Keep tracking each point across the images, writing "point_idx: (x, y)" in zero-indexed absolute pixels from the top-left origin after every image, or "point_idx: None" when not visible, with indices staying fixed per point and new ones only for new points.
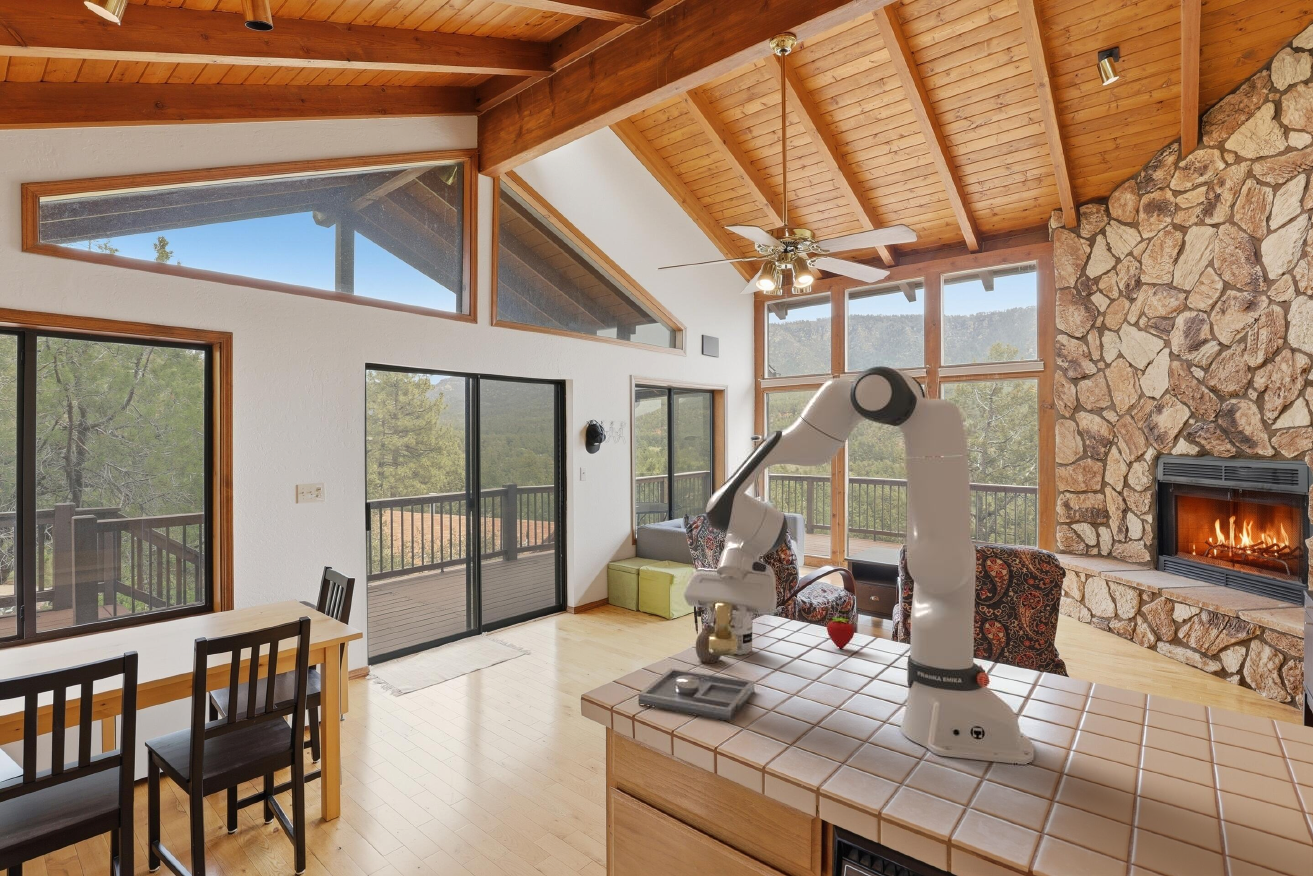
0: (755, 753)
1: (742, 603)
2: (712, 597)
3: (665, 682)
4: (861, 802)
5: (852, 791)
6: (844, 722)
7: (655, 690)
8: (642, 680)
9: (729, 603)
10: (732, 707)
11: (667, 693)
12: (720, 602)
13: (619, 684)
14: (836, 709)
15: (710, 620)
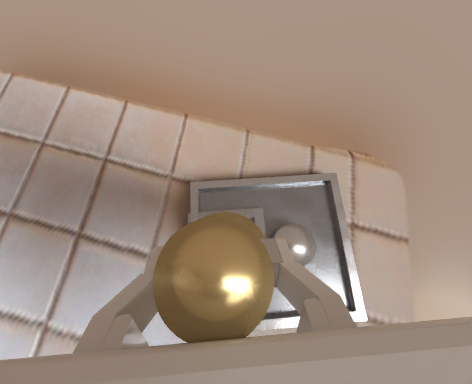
0: (141, 121)
1: (79, 356)
2: (344, 357)
3: (339, 260)
4: (28, 80)
5: (35, 93)
6: (35, 267)
7: (331, 217)
8: (386, 272)
9: (180, 312)
10: (191, 193)
11: (308, 215)
12: (250, 306)
13: (402, 235)
14: (47, 318)
15: (272, 238)
